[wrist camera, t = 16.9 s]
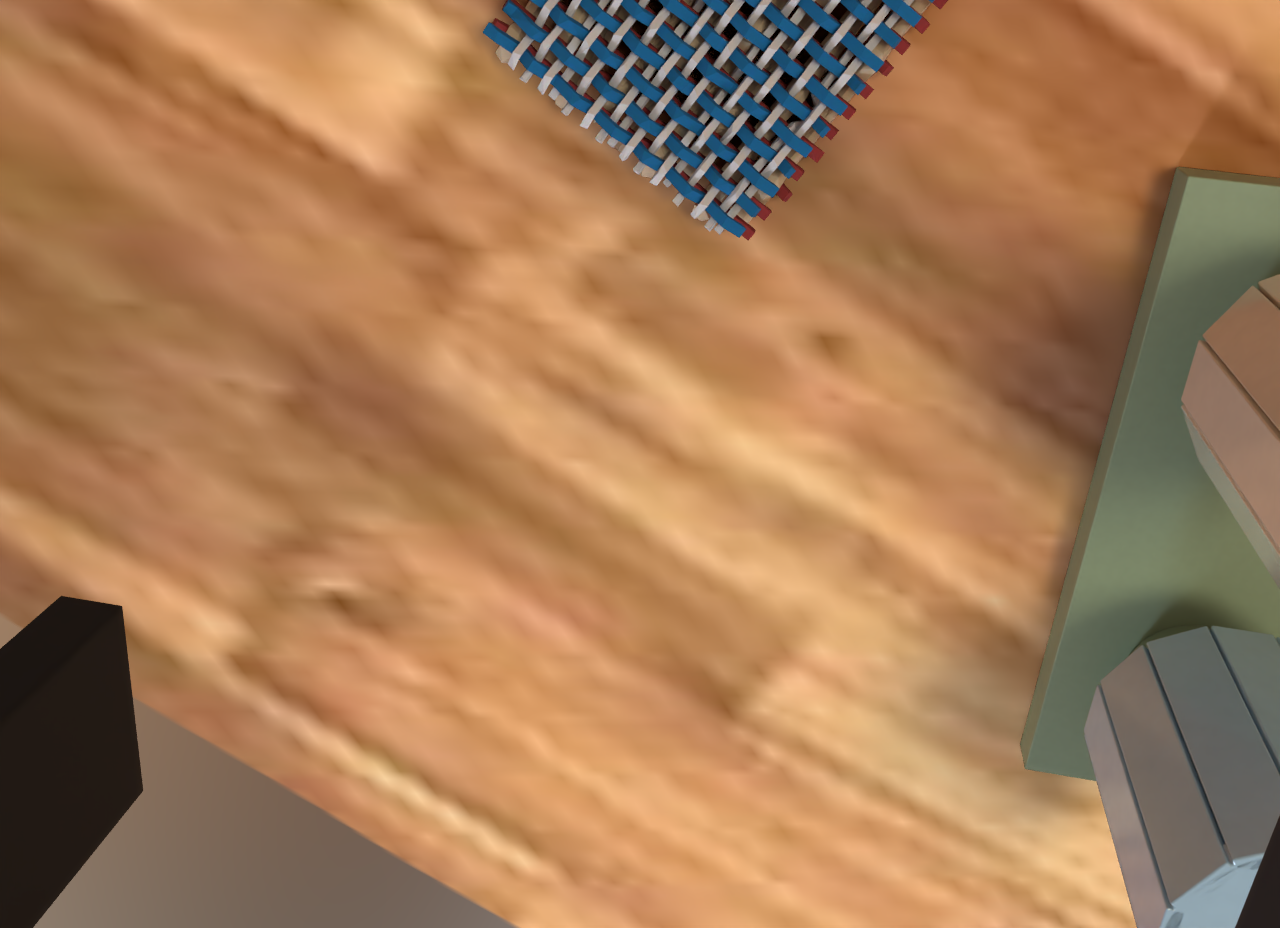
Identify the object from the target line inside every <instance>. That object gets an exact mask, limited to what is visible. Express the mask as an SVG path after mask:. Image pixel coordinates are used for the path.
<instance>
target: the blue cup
mask: <svg viewBox="0 0 1280 928" xmlns="http://www.w3.org/2000/svg"><path fill="white" fill-rule="evenodd" d="M1147 647H1148V649H1147V648H1146V647H1145V646H1143V645H1141V646H1140V647H1139V648H1137V649H1136V650H1135V651H1134V652H1133V653H1132V654H1130V655H1129V656H1128V657H1127V658H1126V659H1125V660H1124V661H1122V662H1121V663H1120V664H1119V665H1118V666H1117V667H1116V668H1114V669H1113V670H1112V671H1111V672H1110V673H1109V674H1108V675H1106V676H1105V677H1104V678H1103V679H1102V680H1101V681H1100V683H1101V685H1097V687H1096V691H1095V694H1094V697H1093V701H1092V704H1091V708H1090V711H1089V714H1088V718H1087V721H1086V724H1085V728H1084V733H1085V735H1084V738H1085V741H1086V745H1087V749H1088V752H1089V756H1090V759H1091V763H1092V767H1093V770H1094V774H1095V777H1096V781H1097V785H1098V788H1099V792H1100V796H1101V799H1102V803H1103V806H1104V810H1105V814H1106V817H1107V821H1108V825H1109V828H1110V832H1111V835H1112V839H1113V843H1114V846H1115V850H1116V853H1117V857H1118V861H1119V864H1120V868H1121V872H1122V875H1123V879H1124V882H1125V886H1126V890H1127V893H1128V897H1129V901H1130V904H1131V908H1132V911H1133V915H1134V919H1135V922H1136V926H1137V928H1235V926H1236V924H1237V921H1238V919H1239V916H1240V914H1241V911H1242V909H1243V906H1244V904H1245V901H1246V899H1247V896H1248V894H1249V891H1250V889H1251V886H1252V884H1253V881H1254V878H1255V876H1256V873H1257V871H1258V868H1259V866H1260V863H1261V861H1262V858H1263V856H1264V853H1265V851H1266V848H1267V846H1268V843H1269V841H1270V838H1271V836H1272V833H1273V831H1274V828H1275V826H1276V823H1277V821H1278V818H1279V816H1280V638H1279V637H1277V638H1275V637H1274V635H1272V634H1265V633H1259V632H1252V631H1246V630H1239V629H1233V628H1226V627H1219V626H1211V629H1210V631H1209V629H1208V627H1207V626H1204V627H1200V628H1196V629H1193V630H1189V631H1185V632H1182V633H1178V634H1174V635H1171V636H1167V637H1164V638H1160V639H1156V640H1153V641H1149V642H1147Z"/></svg>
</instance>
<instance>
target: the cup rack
mask: <svg viewBox="0 0 1280 928" xmlns="http://www.w3.org/2000/svg"><path fill="white" fill-rule="evenodd" d="M1279 274H1280V178H1274V177H1265V176H1256V175H1247V174H1238V173H1230V172H1221V171H1212V170H1203V169H1194V168H1185V167H1177V168H1176V171H1175V175H1174V178H1173V182H1172V186H1171V189H1170V193H1169V197H1168V201H1167V204H1166V208H1165V212H1164V215H1163V219H1162V223H1161V226H1160V230H1159V234H1158V237H1157V241H1156V245H1155V249H1154V252H1153V256H1152V260H1151V263H1150V267H1149V271H1148V274H1147V278H1146V282H1145V285H1144V289H1143V293H1142V297H1141V300H1140V304H1139V308H1138V311H1137V315H1136V319H1135V322H1134V326H1133V330H1132V333H1131V337H1130V341H1129V344H1128V348H1127V352H1126V356H1125V359H1124V363H1123V367H1122V370H1121V374H1120V378H1119V381H1118V385H1117V389H1116V392H1115V396H1114V400H1113V404H1112V407H1111V411H1110V415H1109V418H1108V422H1107V426H1106V429H1105V433H1104V437H1103V440H1102V444H1101V448H1100V451H1099V455H1098V459H1097V463H1096V466H1095V470H1094V474H1093V477H1092V481H1091V485H1090V488H1089V492H1088V496H1087V499H1086V503H1085V507H1084V511H1083V514H1082V518H1081V522H1080V525H1079V529H1078V533H1077V536H1076V540H1075V544H1074V547H1073V551H1072V555H1071V559H1070V562H1069V566H1068V570H1067V573H1066V577H1065V581H1064V584H1063V588H1062V592H1061V595H1060V599H1059V603H1058V606H1057V610H1056V614H1055V618H1054V621H1053V625H1052V629H1051V632H1050V636H1049V640H1048V643H1047V647H1046V651H1045V654H1044V658H1043V662H1042V666H1041V669H1040V673H1039V677H1038V680H1037V684H1036V688H1035V691H1034V695H1033V699H1032V702H1031V706H1030V710H1029V713H1028V717H1027V721H1026V725H1025V728H1024V732H1023V736H1022V739H1021V743H1020V746H1021V751H1022V756H1023V761H1024V767H1025V769H1028V770H1034V771H1040V772H1046V773H1052V774H1058V775H1064V776H1069V777H1075V778H1081V779H1087V780H1093V781H1096V777H1095V774H1094V770H1093V767H1092V763H1091V759H1090V756H1089V752H1088V749H1087V745H1086V741H1085V738H1084V735H1085V733H1084V728H1085V724H1086V721H1087V718H1088V714H1089V711H1090V708H1091V704H1092V701H1093V697H1094V694H1095V691H1096V687H1097V685H1101V683H1100V681H1101V680H1102V679H1103V678H1104V677H1105V676H1106V675H1108V674H1109V673H1110V672H1111V671H1112V670H1113V669H1114V668H1116V667H1117V666H1118V665H1119V664H1120V663H1121V662H1122V661H1124V660H1125V659H1126V658H1127V657H1128V656H1129V655H1130V654H1132V653H1133V652H1134V651H1135V650H1136V649H1137V648H1139V647H1140V646H1141V645H1143V646H1145V647H1146V648H1147V649H1148V647H1147V642H1149V641H1153V640H1156V639H1160V638H1164V637H1167V636H1171V635H1174V634H1178V633H1182V632H1185V631H1189V630H1193V629H1196V628H1200V627H1204V626H1207V627H1208V629H1209V631H1210V629H1211V626H1219V627H1226V628H1233V629H1239V630H1246V631H1252V632H1259V633H1265V634H1272V635H1274V637H1275V638H1277V637H1279V638H1280V589H1279V588H1278V586H1277V585H1276V583H1275V581H1274V580H1273V578H1272V577H1271V575H1270V573H1269V572H1268V570H1267V569H1266V567H1265V565H1264V564H1263V562H1262V561H1261V559H1260V557H1259V556H1258V554H1257V553H1256V551H1255V549H1254V548H1253V546H1252V545H1251V543H1250V541H1249V540H1248V538H1247V537H1246V535H1245V533H1244V532H1243V530H1242V529H1241V527H1240V525H1239V524H1238V522H1237V521H1236V519H1235V517H1234V516H1233V514H1232V513H1231V511H1230V509H1229V508H1228V506H1227V505H1226V503H1225V501H1224V500H1223V498H1222V497H1221V495H1220V493H1219V492H1218V490H1217V489H1216V487H1215V485H1214V484H1213V482H1212V481H1211V479H1210V477H1209V476H1208V474H1207V473H1206V471H1205V469H1204V468H1203V466H1202V465H1201V463H1200V461H1199V460H1198V458H1197V455H1196V451H1195V448H1194V445H1193V442H1192V439H1191V436H1190V433H1189V430H1188V427H1187V423H1186V420H1185V417H1184V414H1183V411H1182V408H1181V406H1182V405H1183V403H1182V401H1181V398H1182V395H1183V391H1184V388H1185V385H1186V381H1187V378H1188V375H1189V371H1190V368H1191V364H1192V361H1193V358H1194V354H1195V351H1196V348H1197V344H1198V341H1199V340H1203V341H1206V340H1205V339H1204V338H1203V336H1202V335H1203V334H1204V333H1205V332H1206V331H1207V330H1208V329H1209V328H1210V327H1211V326H1212V325H1213V324H1214V323H1215V322H1216V321H1217V320H1218V319H1219V318H1220V317H1221V316H1222V315H1223V314H1224V313H1225V312H1226V311H1227V310H1228V309H1229V308H1230V307H1231V306H1232V305H1233V304H1234V303H1235V302H1236V301H1237V300H1238V299H1239V298H1240V297H1241V296H1242V295H1243V294H1244V293H1245V292H1246V291H1247V290H1248V289H1249V288H1250V287H1251V286H1255V287H1256V288H1258V289H1259V286H1258V282H1259V281H1262V280H1265V279H1268V278H1270V277H1273V276H1276V275H1279ZM1259 290H1260V289H1259Z"/></svg>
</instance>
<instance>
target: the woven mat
mask: <svg viewBox="0 0 1280 928" xmlns="http://www.w3.org/2000/svg"><path fill="white" fill-rule="evenodd" d="M610 1H611V0H572V2H571V4H570V5H569V7H568V6H567V5H565V4H563V3H561V2H560V0H530V1H529V3H528V4H527V6H526V7H525V8H524V7H523V6H522V5H520V4H519V3H518V2H517V1H516V0H507V1H506V3H505V4H504V6H503V9H502V10H503V11H504V12H505V13H506V14H507V15H508V16H509V17H510V18H511V19H512V20H513V21H514V22H513V23H512V24H511V25H510V26H509V25H507V24H505V23H504V22H502V21H500V20H498V19H496V18H495V20H494V21H493V23H490V22H489V23H488V25H487V26H486V28H485V29H484V31H483V33H484V34H485V35H487V36H488V37H489V38H490V39H492V40H493V41H494V42H496V43H497V44H499V46H498V48H497V50H496V52H495V53H496V54H497V56H498V57H499V59H500V61H501V62H502V63H508V65H509V66H510V67H511V69H512V70H514V68H515V66H516V64H517V62H518V60H520V62H521V63H522V64H523V65H524V67H525V68H526V70H525V72H524V73H523V74H522V76H521V77H520V78H519V79H521V80H522V81H524V82H525V83H527V81H528V80H529V79H530V77H531V76H532V75H533V74H535V75H537V76H538V77H540V78H542V81H541V82H540V84H539V86H538V90H539V91H540V92H541V93H542V95H543V94H544V92H545V91H546V89H547V87H548V86H549V84H552V85H553V86H554V87H553V89H552V90H551V92H550V93H549V96H550V97H551V98H552V99H553V100H554V101H555V99H556V103H555V104H556V105H557V106H559V107H560V108H561V109H562V110H561V113H563V114H565V115H566V116H568V115H569V113H570V112H571V111H572V110H573V108H574V107H575V108H577V109H579V110H581V111H583V112H585V113H586V115H585V117H584V119H583V121H582V122H581V124H580V126H581V127H584V128H586V129H588V127H589V125H590V124H591V122H592V120H593V121H594V122H595V123H598V124H599V125H600V126H601V127H602V129H601V131H600V132H599V133H598V135H597V136H596V137H595V139H596V140H597V141H598V142H599V143H601V144H602V142H603V141H604V140H605V138H606V137H607V136H608V134H609V135H610V136H611V138H610V139H609V140H608V142H607V143H608V144H609V145H610V146H611V147H615V148H616V149H617V150H618V151H620V152H621V154H620V155H619V157H620V158H621V160H622V161H624V160H626V159H627V158H628V157H629V155H630V154H631V153H632V152H633V153H634V154H635V155H636V156H637V158H638V159H639V160H640V161H639V162H638V163H637V165H636V166H635V167H634V168H633V170H634V172H635V173H637V174H638V175H639V174H640V173H641V176H644V177H650V178H652V179H651V181H650V183H652V184H654V185H656V186H657V185H658V184H659V182H660V181H661V180H662V178H663V177H664V176H665V177H666V179H665V180H664V181H663V183H664V185H665V186H666V187H670V185H671V184H673V186H674V187H675V188H676V189H677V190H678V191H679V193H678V194H677V195H676V196H675V198H674V199H673V200H672V201H673V202H674V203H675V204H676V205H677V206H679V205H680V203H681V202H682V201H683V199H684V198H685V197H686V198H688V199H689V200H691V201H693V202H695V203H696V204H695V206H694V208H693V211H692V213H691V215H692V217H693V218H694V219H695V218H697V219H699V220H700V221H704V220H708V222H707V223H706V224H705V228H706V229H708V230H709V231H711V230H712V229H713V227H714V226H715V225H716V223H718V225H717V226H716V227H715V229H714V230H715V231H717V232H718V233H719V234H721V232H722V231H723V230H724V229H726V230H728V231H729V232H731V233H733V234H734V235H736V236H737V237H739V238H740V236H741V235H742V236H743V237H744V238H746V239H747V240H749V239H750V238H751V237H752V235H753V234H754V233H755V229H754V228H753V227H751V226H750V225H749V224H748V223H749V222H750V221H751V219H752V218H753V217H755V216H756V215H758V216H759V217H760V218H761V219H763V220H765V219H766V218H767V217H768V216H769V214H770V213H771V210H770V209H769V208H768V207H766V206H765V204H766V203H767V202H768V201H769V200H770V198H771V197H772V198H773V197H774V195H775V194H777V195H778V196H779V197H780V198H781V199H782V201H785V202H786V201H787V200H788V199H789V198H790V197H791V196H792V193H791V192H790V190H789V189H788V188H787V187H786V186H785V184H784V181H785V180H786V178H788V179H789V178H790V177H792V178H793V179H795V180H796V181H798V179H799V178H800V177H801V176H802V175H803V173H804V170H803V169H802V168H801V167H800V166H798V165H797V163H798V162H799V161H800V160H801V159H802V157H803V156H804V157H805V158H806V157H807V156H809V157H810V158H812V159H813V160H814V161H815V162H818V161H819V160H820V158H821V157H822V156H823V154H824V152H823V151H822V150H821V149H819V148H818V147H817V146H816V145H814V143H815V142H816V140H817V139H818V138H819V137H820V136H821V137H822V138H823V137H824V136H825V135H826V136H827V137H828V138H829V139H830V140H832V138H833V137H834V136H835V135H836V134H837V132H838V131H839V130H838V129H836V128H835V127H834V126H833V125H832V124H831V122H832V121H833V120H834V119H835V118H836V116H837V115H838V114H839V115H840V116H841V114H842V115H843V116H844V117H845V118H846V119H848V120H849V119H850V118H851V116H852V115H853V114H854V113H855V112H856V109H855V108H854V107H853V106H852V105H850V104H849V103H848V102H849V101H850V99H851V98H852V97H853V96H854V95H855V93H856V94H857V95H859V94H860V95H861V96H863V97H864V98H865V99H866V98H867V97H868V96H869V95H870V94H871V92H872V91H873V90H874V89H873V88H871V87H870V86H869V85H868V84H867V83H866V81H867V80H868V79H869V78H870V77H871V76H872V75H873V74H874V73H875V72H877V71H878V70H879V71H880V72H881V73H882V74H883V75H885V76H887V75H888V74H889V73H890V72H891V70H892V69H893V68H894V67H893V66H892V65H891V64H890V63H889V62H888V61H887V60H886V58H887V57H888V55H889V54H890V52H891V51H892V49H896V50H897V51H898V52H899V53H900V54H901V55H903V53H904V52H905V51H906V50H907V49H908V48H909V46H910V43H909V42H908V41H906V40H905V39H904V38H903V36H904V34H905V33H906V32H907V31H908V30H909V28H910V27H911V26H913V27H915V28H916V29H917V30H918V31H919V32H920V33H921V34H922V33H923V32H924V31H925V30H926V29H927V28H928V26H929V25H930V24H929V22H928V21H927V20H926V19H925V18H924V17H923V16H921V14H922V13H923V12H924V11H925V10H926V8H927V7H928V6H929V5H930V4H931V3H933V4H934V5H935V6H937V7H938V8H939V9H941V8H942V7H943V6H944V4H945V3H946V2H947V1H948V0H697V1H696V0H659V1H660V3H661V4H662V5H663V6H664V7H663V8H662V10H661V11H660V12H659V14H657V13H655V12H654V11H653V10H652V9H651V8H649V7H648V6H647V5H648V4H649V2H650V0H613V1H612V2H611V4H610V6H609V7H608V8H607V7H606V6H607V4H608V3H609V2H610ZM745 1H746V2H747V3H748V4H750V5H751V6H752V7H754V8H755V9H754V11H753V12H752V13H751V15H750V16H748V15H746V14H744V13H743V12H741V11H740V10H739V9H740V7H741V6H742V5H743V3H744V2H745ZM839 2H841V3H842V4H843V5H844V6H845V7H846V8H847V9H848V10H847V11H846V13H845V14H844V15H843V16H842V18H841V19H840V20H838V19H836V18H835V17H834V16H833V15H832V14H831V12H832V11H833V9H834V8H835V7H836V6H837V4H838V3H839ZM882 2H884V3H885V4H884V5H883V6H882V7H881V9H880V10H879V11H878V12H877V14H875V13H874V11H875V10H876V9H877V8H878V7H879V5H880V4H881V3H882ZM694 3H695V4H694ZM705 3H706V4H707V5H708V6H707V8H706V9H705V10H704V12H703V13H702V14H701V15H700V14H699V12H700V11H701V9H702V8H703V6H704V5H705ZM796 5H798V6H800V7H799V8H798V10H797V11H796V12H795V14H794V15H793V16H792V18H790V17H789V15H790V13H791V12H792V11H793V9H794V8H795V6H796ZM692 6H693V7H692ZM891 9H892V10H893V12H892V13H891V14H890V15H889V17H888V18H887V19H886V20H885V22H884V21H883V19H884V18H885V17H886V15H887V14H888V13H889V12H890V10H891ZM548 15H549V16H550V17H551V18H552V19H553V21H554V22H555V23H556V24H557V25H556V26H555V27H554V29H553V30H551V29H550V28H548V27H547V26H546V25H545V21H546V19H547V17H548ZM636 20H638V21H640V22H641V23H643V24H645V25H646V26H648V29H647V30H646V32H645V33H644V35H643V36H641V35H640V34H639V33H638V32H636V31H635V30H634V29H633V28H632V26H633V25H634V23H635V22H636ZM595 21H597V22H598V23H597V24H596V25H595V27H594V28H593V27H592V25H593V24H594V22H595ZM681 21H682V22H681ZM680 22H681V23H680ZM729 22H730V23H731V24H732V25H733V26H734V27H735V28H736V30H737V31H738V32H737V33H736V34H735V35H734V37H733V38H732V39H731V40H730V39H729V38H727V37H726V36H725V35H724V34H723V33H722V32H723V30H724V29H725V27H726V26H727V24H728V23H729ZM864 24H866V25H867V26H866V27H865V28H864V30H863V31H862V32H861V33H860V34H859V36H858V37H857V36H856V34H857V33H858V31H859V30H860V29H861V28H862V26H863V25H864ZM677 26H678V27H677ZM689 26H691V27H692V28H691V29H690V31H689V32H688V33H687V35H686V36H685V35H684V33H685V31H686V30H687V29H688V27H689ZM820 26H821V27H823V28H824V29H826V30H827V31H828V32H830V33H829V34H828V35H827V36H826V38H825V39H824V40H823V41H822V43H821V44H820V43H819V42H818V41H817V40H815V39H814V38H813V37H812V36H813V35H814V34H815V32H816V31H817V30H818V29H819V27H820ZM778 28H779V29H781V30H782V31H781V32H780V33H779V34H778V36H777V37H776V38H775V40H774V39H773V38H772V37H771V36H772V35H773V33H774V32H775V31H776V30H777V29H778ZM873 31H874V32H875V34H874V35H873V36H872V38H871V39H870V40H869V41H868V43H867V44H866V43H865V41H866V39H867V38H868V37H869V36H870V35H871V34H872V33H873ZM533 40H535V41H537V42H539V43H541V46H540V48H539V50H538V51H537V50H536V49H535V48H534V47H533V46H532V44H531V43H532V42H533ZM622 40H623V41H624V43H625V44H626V45H627V46H628V47H629V48H630V49H631V51H632V52H631V53H630V54H629V56H628V57H626V56H625V55H623V54H622V53H621V52H620V51H619V50H617V47H618V46H619V44H620V43H621V42H622ZM582 41H583V43H582V45H581V46H580V48H579V50H578V51H576V49H577V47H578V46H579V45H580V43H581V42H582ZM711 46H712V47H713V48H714V49H716V50H717V51H719V52H720V53H721V54H720V55H719V57H718V58H717V59H716V61H715V60H714V59H713V58H712V57H711V56H710V55H709V54H708V53H707V51H708V50H709V49H710V47H711ZM845 47H847V48H848V49H847V50H846V52H845V53H844V54H843V55H842V57H841V58H840V59H838V58H837V57H838V56H839V55H840V54H841V52H842V51H843V50H844V49H845ZM589 48H590V49H589ZM803 48H804V49H805V50H806V51H807V52H808V53H809V54H810V55H811V57H810V58H809V59H808V60H807V62H806V63H805V64H804V65H803V64H802V63H801V62H800V61H798V60H797V59H796V56H797V55H798V54H799V53H800V52H801V50H802V49H803ZM672 49H673V50H674V52H673V53H672V54H671V56H670V57H669V58H668V57H667V55H668V54H669V53H670V51H671V50H672ZM760 49H761V50H762V51H763V52H764V53H763V55H762V56H761V57H760V59H759V60H758V61H757V62H756V61H755V60H754V57H755V56H756V55H757V53H758V52H759V50H760ZM853 55H855V56H856V58H855V59H854V60H853V61H852V63H851V64H850V65H849V67H847V66H846V64H847V63H848V62H849V61H850V59H851V58H852V57H853ZM605 64H607V65H609V66H611V67H612V68H614V69H616V70H617V71H616V73H615V75H614V76H612V75H610V74H608V73H607V72H605V71H603V70H602V68H603V67H604V66H605ZM564 65H566V66H568V67H567V69H566V70H565V72H564V73H562V72H561V71H560V69H561V68H562V67H563V66H564ZM695 67H696V68H697V69H698V70H699V71H700V72H701V73H702V74H703V76H704V77H703V78H702V79H701V80H700V82H699V83H698V82H697V81H696V80H694V79H693V78H692V77H691V76H690V74H691V72H692V71H693V70H694V68H695ZM656 70H659V72H658V73H657V75H656V76H655V77H654V79H653V78H651V77H652V75H653V74H654V73H655V71H656ZM827 70H829V71H830V72H829V73H828V74H827V76H826V77H825V78H824V79H823V81H822V80H821V79H820V78H821V77H822V76H823V75H824V73H825V72H826V71H827ZM784 72H787V73H788V74H790V75H791V76H792V77H794V78H793V79H792V81H791V82H790V84H789V85H788V84H786V83H785V82H784V81H782V80H781V79H779V78H780V77H781V75H782V74H783V73H784ZM743 73H745V74H747V75H746V77H745V78H744V79H743V81H742V82H741V83H739V82H738V79H739V78H740V77H741V76H742V74H743ZM836 77H838V78H839V79H838V80H837V81H836V82H835V83H834V84H833V85H832V86H831V87H829V86H830V85H831V84H832V82H833V81H834V80H835V78H836ZM591 84H592V85H593V86H594V87H595V88H596V89H597V90H598V91H599V92H600V95H599V97H598V98H597V100H596V101H595V100H594V99H593V98H592V97H590V96H589V95H588V94H587V93H585V92H586V91H587V89H588V88H589V87H590V85H591ZM678 90H679V91H681V92H682V93H684V94H686V95H687V96H688V98H687V99H686V100H685V102H684V103H682V102H680V101H679V100H678V99H677V98H676V97H674V95H675V94H676V93H677V91H678ZM639 92H641V93H642V95H641V97H640V98H639V100H638V99H637V98H636V96H637V95H638V94H639ZM768 92H770V93H771V94H772V95H773V96H774V97H775V98H776V99H777V100H776V101H775V102H774V103H773V104H772V106H771V107H770V108H769V107H768V106H767V105H765V104H764V103H763V102H762V99H763V98H764V97H765V96H766V95H767V93H768ZM810 92H811V93H812V94H811V96H812V100H813V104H814V106H813V108H812V107H811V106H810V105H809V104H808V103H807V102H806V101H805V99H806V97H807V96H808V94H809V93H810ZM728 93H729V94H730V95H731V96H730V98H729V99H728V100H727V101H726V103H725V102H724V101H722V100H723V99H724V98H725V96H726V95H727V94H728ZM663 110H665V111H666V112H667V113H668V115H669V116H670V117H671V118H672V119H671V120H670V121H669V122H668V124H665V123H664V122H663V121H662V120H661V119H659V118H658V117H659V115H660V114H661V112H662V111H663ZM624 112H625V113H626V114H627V116H626V117H625V119H624V120H623V121H621V120H620V117H621V116H622V115H623V113H624ZM793 114H795V115H796V116H798V117H799V118H800V119H802V120H800V121H795V122H791V123H790V124H789V123H787V122H786V121H787V120H788V119H789V118H790V117H791V116H792V115H793ZM750 115H752V116H754V117H755V118H757V119H759V120H760V121H759V122H758V123H757V125H756V126H755V127H753V126H752V125H751V123H750V122H749V121H748V120H747V119H748V117H749V116H750ZM710 116H712V117H714V118H713V119H712V120H711V122H710V123H709V124H707V123H706V121H707V120H708V119H709V117H710ZM647 132H648V133H650V134H652V135H653V136H655V137H657V138H656V139H655V141H654V142H652V141H651V140H649V139H647V138H646V137H644V136H645V134H646V133H647ZM735 134H737V135H738V137H739V138H740V139H741V140H742V141H743V142H742V143H741V145H740V146H739V147H738V149H737V148H736V147H735V146H734V145H732V144H731V143H730V142H729V141H730V140H731V139H732V138H733V136H734V135H735ZM775 134H776V135H777V136H778V138H777V139H776V140H775V141H774V142H773V143H771V142H770V140H771V139H772V138H773V137H774V135H775ZM696 135H698V136H699V138H698V139H697V140H696V141H695V143H694V144H693V145H691V144H690V143H691V141H692V140H693V139H694V137H695V136H696ZM784 143H785V144H784ZM783 144H784V146H783V147H782V148H781V146H782V145H783ZM780 148H781V150H779V149H780ZM758 155H760V156H761V157H760V158H759V160H758V161H757V162H755V161H754V160H755V159H756V158H757V157H758ZM717 156H719V157H720V158H722V159H724V160H726V161H727V162H726V164H725V165H724V166H723V168H722V169H720V168H719V167H718V166H717V165H715V164H714V163H713V162H714V160H715V159H716V158H717ZM678 158H680V159H681V160H680V162H679V163H678V164H677V163H676V161H677V159H678ZM768 161H769V162H770V163H769V165H768V166H767V167H766V168H764V166H765V165H766V164H767V162H768ZM703 175H704V176H705V177H706V178H707V179H708V180H709V181H710V182H711V183H710V184H709V185H708V186H707V188H706V189H705V188H703V187H702V186H701V185H700V184H698V183H697V182H698V181H699V180H700V178H701V177H702V176H703ZM742 175H744V177H743V179H742V180H741V181H740V182H739V184H738V183H737V182H738V180H739V179H740V178H741V177H742ZM750 182H751V183H752V185H751V186H750V187H749V188H748V189H747V190H746V187H747V186H748V185H749V184H750ZM726 195H728V197H727V198H726V199H725V200H724V202H723V203H722V202H721V201H722V200H723V199H724V198H725V197H726ZM734 202H736V204H735V205H734V206H733V207H732V208H731V209H729V208H730V207H731V206H732V204H733V203H734ZM710 217H711V218H710Z"/></svg>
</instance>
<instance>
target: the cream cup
mask: <svg viewBox="0 0 1280 928" xmlns="http://www.w3.org/2000/svg"><path fill="white" fill-rule="evenodd" d="M1258 286H1259V289H1260V290H1259V289H1258V288H1256V287H1255V286H1251V287H1250V288H1249V289H1248V290H1247V291H1246V292H1245V293H1244V294H1243V295H1242V296H1241V297H1240V298H1239V299H1238V300H1237V301H1236V302H1235V303H1234V304H1233V305H1232V306H1231V307H1230V308H1229V309H1228V310H1227V311H1226V312H1225V313H1224V314H1223V315H1222V316H1221V317H1220V318H1219V319H1218V320H1217V321H1216V322H1215V323H1214V324H1213V325H1212V326H1211V327H1210V328H1209V329H1208V330H1207V331H1206V332H1205V333H1204V334H1203V335H1202V336H1203V338H1204V339H1205V340H1206V341H1203V340H1199V341H1198V344H1197V348H1196V351H1195V354H1194V358H1193V361H1192V364H1191V368H1190V371H1189V375H1188V378H1187V381H1186V385H1185V388H1184V391H1183V395H1182V398H1181V401H1182V403H1183V405H1182V406H1181V408H1182V411H1183V414H1184V417H1185V420H1186V423H1187V427H1188V430H1189V433H1190V436H1191V439H1192V442H1193V445H1194V448H1195V451H1196V455H1197V458H1198V460H1199V461H1200V463H1201V465H1202V466H1203V468H1204V469H1205V471H1206V473H1207V474H1208V476H1209V477H1210V479H1211V481H1212V482H1213V484H1214V485H1215V487H1216V489H1217V490H1218V492H1219V493H1220V495H1221V497H1222V498H1223V500H1224V501H1225V503H1226V505H1227V506H1228V508H1229V509H1230V511H1231V513H1232V514H1233V516H1234V517H1235V519H1236V521H1237V522H1238V524H1239V525H1240V527H1241V529H1242V530H1243V532H1244V533H1245V535H1246V537H1247V538H1248V540H1249V541H1250V543H1251V545H1252V546H1253V548H1254V549H1255V551H1256V553H1257V554H1258V556H1259V557H1260V559H1261V561H1262V562H1263V564H1264V565H1265V567H1266V569H1267V570H1268V572H1269V573H1270V575H1271V577H1272V578H1273V580H1274V581H1275V583H1276V585H1277V586H1278V588H1279V589H1280V274H1279V275H1276V276H1273V277H1270V278H1268V279H1265V280H1262V281H1259V282H1258Z"/></svg>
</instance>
